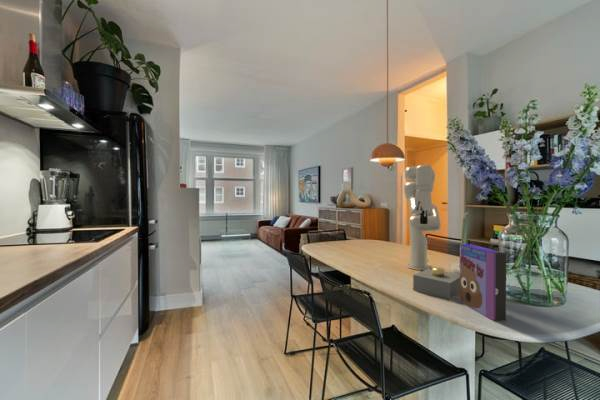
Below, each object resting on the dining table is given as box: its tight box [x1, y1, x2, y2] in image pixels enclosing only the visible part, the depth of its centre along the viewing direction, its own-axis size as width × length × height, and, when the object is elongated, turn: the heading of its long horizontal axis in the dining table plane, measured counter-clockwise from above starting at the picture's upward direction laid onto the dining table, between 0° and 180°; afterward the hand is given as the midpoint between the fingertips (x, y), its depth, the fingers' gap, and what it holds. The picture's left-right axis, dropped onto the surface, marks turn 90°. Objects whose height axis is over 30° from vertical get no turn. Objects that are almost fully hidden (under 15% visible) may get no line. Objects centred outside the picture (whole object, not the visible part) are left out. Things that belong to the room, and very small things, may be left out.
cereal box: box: [459, 243, 507, 322], centre depth 105 cm, size 17×5×24 cm, turn 5°
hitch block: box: [412, 268, 460, 300], centre depth 127 cm, size 16×16×7 cm
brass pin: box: [431, 266, 446, 277], centre depth 127 cm, size 5×5×9 cm
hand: (423, 223), depth 144 cm, fingers closed
